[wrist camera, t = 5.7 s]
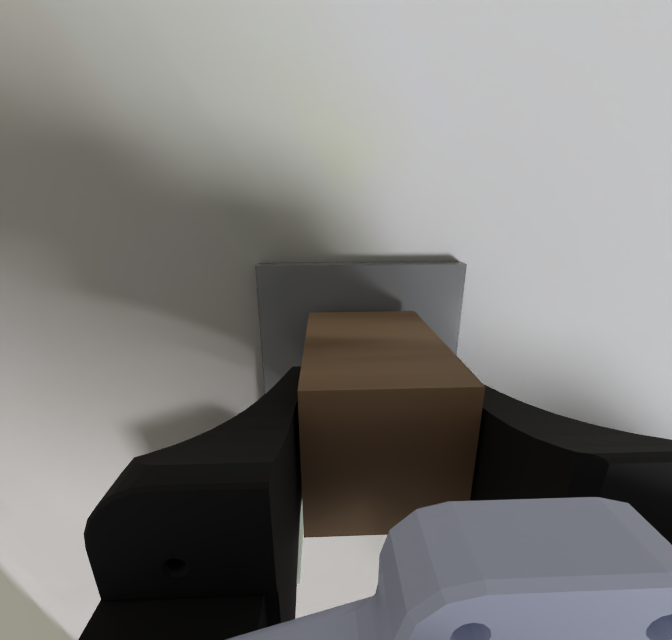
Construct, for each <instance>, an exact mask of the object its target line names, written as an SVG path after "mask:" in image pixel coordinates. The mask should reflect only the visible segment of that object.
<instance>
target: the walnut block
mask: <svg viewBox="0 0 672 640" xmlns="http://www.w3.org/2000/svg"><path fill="white" fill-rule="evenodd" d="M297 392H298V415H299V437H300V459H301V482H302V504H303V526H304V537H329V536H357V535H385V534H388V533H389V531H390V529H391V528H393V527H394V526H395V525H397V524H398V523H399V522H400V521H402V520H403V519H404V518H406V517H407V516H408V515H410V514H411V513H412V512H413V511H415V510H416V509H418V508H422V507H427V506H431V505H435V504H439V503H443V502H447V501H470V497H471V489H472V482H473V474H474V467H475V460H476V452H477V445H478V438H479V430H480V423H481V416H482V408H483V401H484V393H485V386H484V385H483V384H482V383H481V382H480V380H479V379H478V378H477V377H476V376H475V375H474V374H473V373H472V372H471V371H470V370H469V369H468V368H467V367H466V365H465V364H464V363H463V362H462V361H461V360H460V359H459V358H458V357H457V356H456V355H455V354H454V353H453V352H452V351H451V349H450V348H449V347H448V346H447V345H446V344H445V343H444V342H443V341H442V340H441V339H440V338H439V337H438V336H437V334H436V333H435V332H434V331H433V330H432V329H431V328H430V327H429V326H428V325H427V324H426V323H425V322H424V321H423V319H422V318H421V317H420V316H419V315H418V314H417V313H416V312H415V311H376V312H313V313H309V317H308V324H307V330H306V337H305V344H304V350H303V357H302V364H301V371H300V377H299V384H298V391H297Z"/></svg>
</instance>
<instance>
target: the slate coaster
mask: <svg viewBox="0 0 672 640" xmlns="http://www.w3.org/2000/svg"><path fill="white" fill-rule="evenodd" d="M466 265H467V264H465V263H462V262H380V263H258V264H257V265H256V279H257V292H258V305H259V318H260V332H261V345H262V358H263V372H264V385H265V394H266V393H267V392H268V391H269V390H270V389H271V388H272V387H273V386H274V385H275V384H276V383H277V382H278V381H279V380H280V379H281V378H282V377H283V376H284V375H285V374H286V373H287V372H288V370H289V369H290V368H292V367H293V366H301V364H302V357H303V350H304V344H305V337H306V330H307V324H308V317H309V313H313V312H376V311H415V312H416V313H417V314H418V315H419V316H420V317H421V318H422V319H423V321H424V322H425V323H426V324H427V325H428V326H429V327H430V328H431V329H432V330H433V331H434V332H435V333H436V334H437V336H438V337H439V338H440V339H441V340H442V341H443V342H444V343H445V344H446V345H447V346H448V347H449V348H450V349H451V351H452V352H453V353H454V354H455V355H456V353H457V344H458V335H459V326H460V318H461V309H462V300H463V291H464V283H465V274H466Z"/></svg>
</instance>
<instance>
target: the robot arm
mask: <svg viewBox="0 0 672 640" xmlns="http://www.w3.org/2000/svg"><path fill="white" fill-rule="evenodd" d="M300 371H301V366H293V367H292V368H290V369H289V370H288V372H287V373H286V374H285V375H284V376H283V377H282V378H281V379H280V380H279V381H278V382H277V383H276V384H275V385H274V386H273V387H272V388H271V389H270V390H269V391H268V392H267V393H266V394H265V395H264V396H262V397H261V398H260V399H259V400H258V401H257V402H255V403H254V404H253V405H251V406H250V407H249V408H247V409H246V410H244V411H243V412H241V413H240V414H238V415H237V416H235V417H234V418H232V419H230V420H228V421H226V422H225V423H223V424H221V425H219V426H217V427H215V428H213V429H212V430H210V431H207V432H205V433H203V434H201V435H199V436H196V437H194V438H191V439H189V440H186V441H184V442H181V443H179V444H176V445H173V446H170V447H167V448H164V449H161V450H158V451H154V452H151V453H148V454H145V455H141V456H138V457H134V459H133V460H132V461H131V462H130V463H129V464H128V466H127V467H126V468H125V469H124V471H123V472H122V473H121V474H120V476H119V477H118V478H117V480H116V481H115V482H114V484H113V485H112V486H111V488H110V489H109V490H108V492H107V493H106V494H105V496H104V497H103V498H102V500H101V501H100V502H99V504H98V505H97V506H96V508H95V509H94V511H93V512H92V513H91V515H90V516H89V518H88V519H87V523H86V527H85V531H84V539H85V547H86V551H87V555H88V558H89V561H90V565H91V568H92V571H93V574H94V578H95V581H96V584H97V587H98V591H99V594H100V597H101V601H100V603H99V605H98V606H97V608H96V610H95V612H94V613H93V615H92V617H91V619H90V620H89V622H88V624H87V626H86V627H85V629H84V631H83V633H82V634H81V636H80V638H79V640H672V440H670V439H663V438H657V437H651V436H645V435H638V434H633V433H628V432H624V431H619V430H614V429H610V428H605V427H601V426H597V425H593V424H589V423H585V422H581V421H578V420H574V419H571V418H567V417H564V416H560V415H557V414H554V413H551V412H548V411H545V410H542V409H540V408H537V407H534V406H531V405H529V404H526V403H523V402H521V401H519V400H516V399H514V398H511V397H509V396H507V395H505V394H503V393H500V392H498V391H496V390H494V389H492V388H490V387H488V386H486V385H484V384H483V385H484V386H485V393H484V401H483V408H482V416H481V423H480V430H479V438H478V445H477V452H476V460H475V467H474V474H473V482H472V489H471V497H470V501H447V502H443V503H439V504H435V505H431V506H427V507H422V508H418V509H416V510H415V511H413V512H412V513H411V514H410V515H408V516H407V517H406V518H404V519H403V520H402V521H400V522H399V523H398V524H397V525H395V526H394V527H393V528H391V529H390V531H389V533H388V535H387V538H386V540H385V543H384V545H383V548H382V550H381V553H380V557H379V577H378V585H377V590H376V594H375V595H374V596H372V597H368V598H365V599H361V600H358V601H355V602H351V603H348V604H344V605H341V606H338V607H334V608H331V609H327V610H324V611H321V612H317V613H314V614H310V615H307V616H304V617H300V618H297V619H295V609H296V587H297V567H298V548H299V530H300V513H301V504H302V482H301V459H300V437H299V415H298V392H297V391H298V384H299V377H300Z"/></svg>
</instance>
